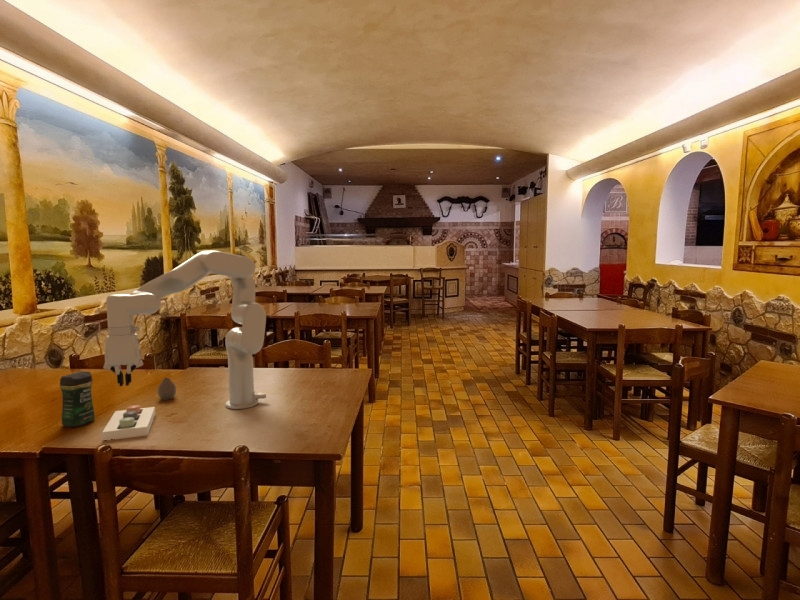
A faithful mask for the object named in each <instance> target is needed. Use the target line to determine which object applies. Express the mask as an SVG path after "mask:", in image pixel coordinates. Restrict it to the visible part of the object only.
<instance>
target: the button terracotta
mask: <svg viewBox="0 0 800 600" xmlns="http://www.w3.org/2000/svg"><path fill="white" fill-rule="evenodd" d="M140 408H141V405H140V404H136V405H134V404H133V405H129V406H127V407H126V410H127V412H129V411H137V413H138V414H141V410H140Z"/></svg>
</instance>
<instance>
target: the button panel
mask: <svg viewBox="0 0 800 600" xmlns="http://www.w3.org/2000/svg"><path fill="white" fill-rule="evenodd" d="M140 410H141V414H138V420H134V422H135V427H130V428H122V429H120V424H119V420H121V419H123V413H125V412H127V409H123V410H115V411H114V413H112V414H113V415H112V416H111V417H110V419H109V421H108V422H107V424H106V425H105V427H104V429H103V431H102V434H101V435H102V441H103V440H107V441H113V440H114V439H115V440H120V439H123V440H124V439H128V438H137V437H143V436H144V437H146V436H149V433H150V429H151V427H152V425H153V422H154V419H155V416H156V407H155V406H151V407H142V408H141V407H140ZM111 439H113V440H111Z"/></svg>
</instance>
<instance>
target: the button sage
mask: <svg viewBox="0 0 800 600" xmlns="http://www.w3.org/2000/svg"><path fill="white" fill-rule="evenodd" d="M119 424H120V426H119V429H122V428H130V427H135V426H136V424H135V422H134V418H133V417H128V418H123V419H121V420H119Z"/></svg>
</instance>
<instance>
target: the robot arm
mask: <svg viewBox="0 0 800 600" xmlns="http://www.w3.org/2000/svg"><path fill="white" fill-rule="evenodd" d="M255 272H256V264H255V262H254V260H252V258H250V257H248V256H245V255H240V254H233V253H228V252H225V251H224V252H223V251H219V250H202V251H200V252H198V253H196V254H195V255H193V256H191V257H190V258H189V259H187V260H186V261H184V262H182V263H180V264H179V265H178V266H176V267H175V268H173V269H171V270H169V271H167V272H165V273H163V274H161V275H160V276H158V277H155V278H154V279H151V280H150V281H148V282H146V283H144V284H142V285H141V286H140V287H138V288H137V289H136V290H134V291H132V292H131V293H130V294H129V293H117V294H115V293H114V294H109V295H107V297H106V299H105V300H106V316H107V317H106V318H107V320H106V321H107V332H108V334H107V335H106V337H105V343H104V363H103V366H102V367H103V369H104V370H109V371H111V372H112V373H114V374H115V376H116V381H117V384H118V385H119V387H122V386H124V385H125V386H128V387H129V386H130V384H131V383H132V373H133V371H134V370H135V369H136V368H137V369H138V368H140V367H143V365H144V362H143V360H142V351H141V344H140V339H139V338H140V337H139V335H138V333H136V332H139V331H140V326H136V325H135V322H134V321H135V317H134V315H140V316H141V315H143V316H144V315H145V316H146V315H147V316H148V315H153V314H155V313H157V312H158V311H159V310H160V308H161V300H162V299H163V298H165V297H168V296H170V295H172V294H177V293H182V292H184V291H186V290H188V289H190V288H191V287H193V286H194V285H195V284H197V283H198V282H200V281H202V280H203V279H204V278H206V277H207V276H209V275H211V274H213V275H214V274H215V275H221V276H226V277H227V278H228V280H230V282H231V285H232V303H231V311H230V318H231V320H233V322H234V323H236V324H239V325H242V326H241V327H240V326H236V327H233V328H231V329H230V330H229V331H227V333H226V334H225V339H224V341H225V349H226V354H227V366H228V370H227V371H228V390H229V391H228V393H229V397H228V400H227V401H226V402H225V407H226V408H228V409H232V410H243V409H244V410H245V409H248V408H252V407H255V406H257V405H258V404H259V399H260V400H262V399H266V398H267V394H266V393H263V392H259V393H258V392H256V391H255V379H254V357H253V355H255V354H257V353H258V352H260V351H261V349H262V348H263V346H264V341H265V333H266V324H267V312H266V310H265V308H264V306H263V305H262V304H261V303H258V302H256V284H255V281H254V278H253V276H254V274H255ZM121 366H126V371H125V375H124V372H123V371H122V367H121ZM124 378H125V379H124ZM124 380H125V382H124Z"/></svg>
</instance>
